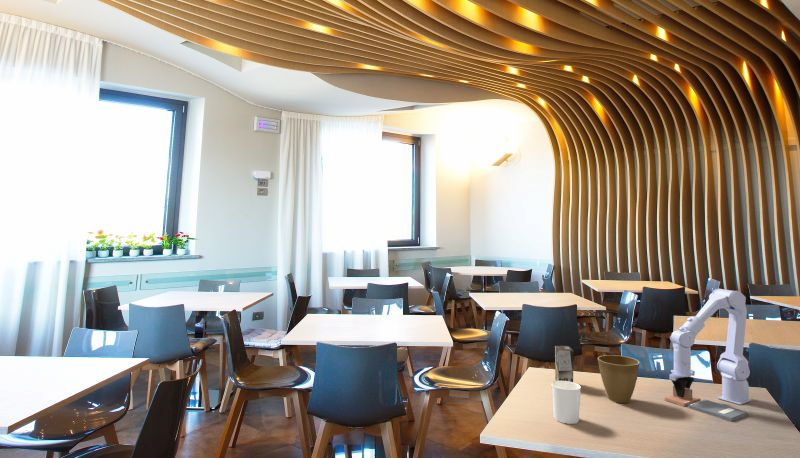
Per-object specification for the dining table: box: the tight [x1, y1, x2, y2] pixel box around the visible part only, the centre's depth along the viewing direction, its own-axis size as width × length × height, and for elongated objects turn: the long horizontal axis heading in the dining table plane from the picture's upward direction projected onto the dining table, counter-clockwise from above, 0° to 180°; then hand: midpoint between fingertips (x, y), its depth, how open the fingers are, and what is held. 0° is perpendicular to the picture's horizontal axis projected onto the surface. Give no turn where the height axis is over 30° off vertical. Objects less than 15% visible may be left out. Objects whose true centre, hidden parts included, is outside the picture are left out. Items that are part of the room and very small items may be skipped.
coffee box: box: [554, 345, 574, 383], centre depth 192 cm, size 9×6×16 cm
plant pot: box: [597, 354, 640, 404], centre depth 173 cm, size 15×15×16 cm
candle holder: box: [550, 381, 582, 425], centre depth 154 cm, size 10×10×12 cm
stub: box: [664, 385, 702, 407], centre depth 173 cm, size 12×7×5 cm, turn 119°
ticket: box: [688, 399, 748, 422], centre depth 162 cm, size 12×14×1 cm
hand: (682, 395), depth 173 cm, fingers closed on stub, 2 cm apart
